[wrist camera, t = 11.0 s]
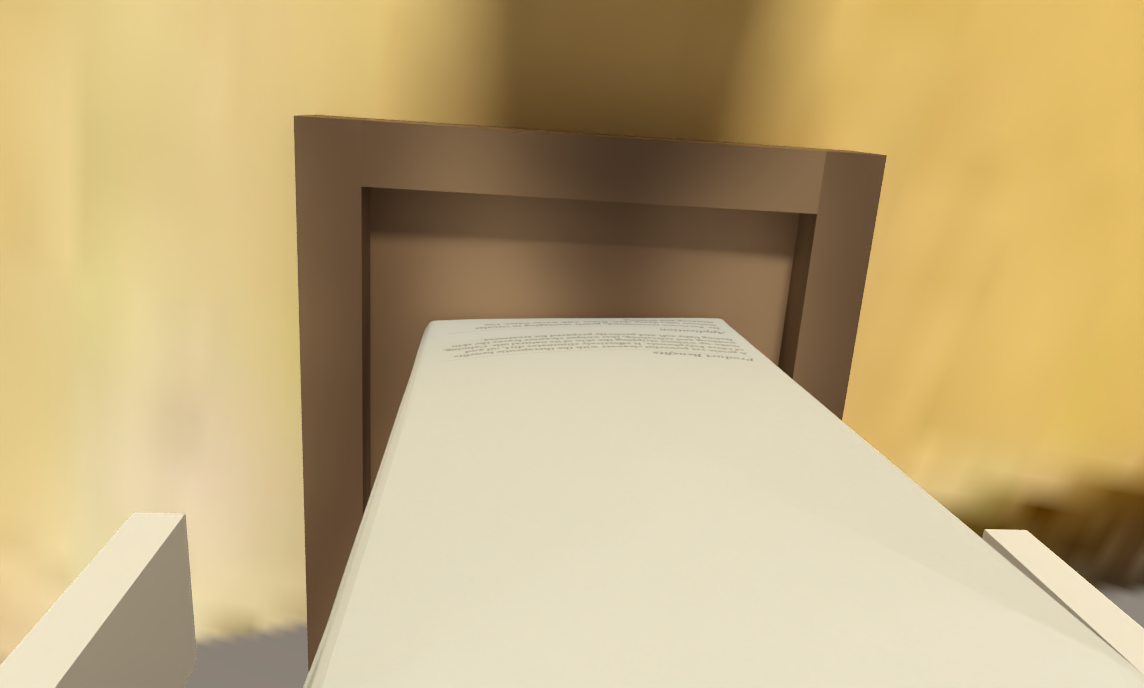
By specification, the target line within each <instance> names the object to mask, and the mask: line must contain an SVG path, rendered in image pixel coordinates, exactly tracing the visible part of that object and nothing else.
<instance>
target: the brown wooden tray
mask: <svg viewBox="0 0 1144 688" xmlns="http://www.w3.org/2000/svg"><path fill="white" fill-rule="evenodd" d="M294 139H295V177H296V214H297V252H298V290H299V328H300V365H301V403H302V441H303V479H304V516H305V554H306V592H307V630H308V667H309V671H310V668H311V666H312V663H313V660H314V658H315V655H316V652H317V650H318V647H319V644H320V642H321V639H322V636H323V634H324V631H325V628H326V626H327V623H328V620H329V617H330V614H331V611H332V608H333V605H334V602H335V599H336V595H337V592H338V589H339V586H340V583H341V580H342V577H343V574H344V571H345V568H346V565H347V562H348V559H349V556H350V553H351V550H352V547H353V544H354V541H355V538H356V535H357V533H358V530H359V527H360V524H361V521H362V518H363V515H364V512H365V509H366V506H367V503H368V500H369V497H370V494H371V491H372V488H373V485H374V482H375V479H376V477H377V474H378V471H379V468H380V465H381V462H382V459H383V456H384V453H385V450H386V447H387V444H388V441H389V437H390V434H391V431H392V428H393V425H394V422H395V419H396V416H397V413H398V410H399V407H400V404H401V401H402V398H403V396H404V393H405V390H406V387H407V384H408V381H409V378H410V375H411V372H412V369H413V366H414V362H415V359H416V356H417V352H418V349H419V346H420V343H421V340H422V337H423V334H424V331H425V329H426V327H427V326H428V325H429V323H430V322H432V321H438V320H463V319H525V318H719V319H723V320H724V321H725V322H726V323H727V324H728V325H729V326H730V327H731V328H733V329H734V330H735V331H736V332H737V333H738V334H740V335H741V336H742V337H743V338H745V339H746V340H747V341H748V342H749V343H750V344H751V345H753V346H754V347H755V348H756V349H757V350H759V351H760V352H761V353H762V354H764V355H765V356H766V357H767V358H768V359H769V360H771V361H772V362H773V363H774V364H775V365H776V366H777V367H779V368H780V369H781V370H782V371H783V372H784V373H785V374H787V375H788V376H789V377H790V378H791V379H793V380H794V381H795V382H796V383H797V384H799V385H800V386H801V387H802V388H803V389H805V390H806V391H807V392H808V393H809V394H811V395H812V396H813V397H814V398H815V399H817V400H818V401H819V402H820V403H821V404H823V405H824V406H825V407H826V408H827V409H828V410H830V411H831V412H832V413H833V414H834V415H835V416H837V417H838V418H839V419H840V420H841V421H842V417H843V411H844V405H845V399H846V393H847V387H848V381H849V375H850V369H851V363H852V357H853V351H854V345H855V340H856V334H857V328H858V322H859V316H860V310H861V304H862V298H863V292H864V286H865V280H866V274H867V269H868V263H869V257H870V251H871V245H872V239H873V233H874V227H875V221H876V215H877V209H878V203H879V197H880V192H881V186H882V180H883V174H884V168H885V162H886V156H887V155H879V154H871V153H863V152H855V151H845V150H830V149H815V148H800V147H785V146H770V145H756V144H741V143H726V142H711V141H696V140H681V139H666V138H651V137H637V136H622V135H607V134H592V133H577V132H562V131H547V130H533V129H518V128H503V127H488V126H473V125H458V124H443V123H428V122H414V121H399V120H384V119H369V118H354V117H339V116H324V115H301V116H294Z"/></svg>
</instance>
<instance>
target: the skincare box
mask: <svg viewBox="0 0 1144 688" xmlns="http://www.w3.org/2000/svg"><path fill="white" fill-rule="evenodd" d="M303 688H1144V674H1142V673H1141V672H1140V671H1139V670H1138V669H1136V668H1135V667H1134V666H1133V665H1132V664H1130V663H1129V662H1128V661H1127V660H1126V659H1124V658H1123V657H1122V656H1121V655H1120V654H1118V653H1117V652H1116V651H1115V650H1114V649H1113V648H1111V647H1110V646H1109V645H1108V644H1107V643H1105V642H1104V641H1103V640H1102V639H1101V638H1099V637H1098V636H1097V635H1096V634H1095V633H1093V632H1092V631H1091V630H1090V629H1089V628H1087V627H1086V626H1085V625H1084V624H1083V623H1082V622H1080V621H1079V620H1078V619H1077V618H1076V617H1074V616H1073V615H1072V614H1071V613H1070V612H1069V611H1067V610H1066V609H1065V608H1064V607H1063V606H1061V605H1060V604H1059V603H1058V602H1057V601H1056V600H1054V599H1053V598H1052V597H1051V596H1050V595H1048V594H1047V593H1046V592H1045V591H1044V590H1043V589H1041V588H1040V587H1039V586H1038V585H1037V584H1035V583H1034V582H1033V581H1032V580H1031V579H1029V578H1028V577H1027V576H1026V575H1025V574H1023V573H1022V572H1021V571H1020V570H1019V569H1017V568H1016V567H1015V566H1014V565H1013V564H1011V563H1010V562H1009V561H1008V560H1007V559H1006V558H1004V557H1003V556H1002V555H1001V554H1000V553H998V552H997V551H996V550H995V549H994V548H992V547H991V546H990V545H989V544H988V543H987V542H985V541H984V540H983V539H982V538H981V537H979V536H978V535H977V534H976V533H975V532H973V531H972V530H971V529H970V528H969V527H967V526H966V525H965V524H964V523H963V522H961V521H960V520H959V519H958V518H957V517H955V516H954V515H953V514H952V513H951V512H949V511H948V510H947V509H946V508H945V507H943V506H942V505H941V504H940V503H939V502H937V501H936V500H935V499H934V498H933V497H931V496H930V495H929V494H928V493H927V492H925V491H924V490H923V489H922V488H921V487H919V486H918V485H917V484H916V483H915V482H914V481H912V480H911V479H910V478H909V477H908V476H907V475H906V474H904V473H903V472H902V471H901V470H900V469H899V468H897V467H896V466H895V465H894V464H893V463H892V462H890V461H889V460H888V459H887V458H886V457H884V456H883V455H882V454H881V453H880V452H878V451H877V450H876V449H875V448H873V447H872V446H871V445H870V444H869V443H867V442H866V441H865V440H864V439H863V438H861V437H860V436H859V435H858V434H857V433H856V432H854V431H853V430H852V429H851V428H850V427H848V426H847V425H846V424H845V423H844V422H843V421H841V420H840V419H839V418H838V417H837V416H835V415H834V414H833V413H832V412H831V411H830V410H828V409H827V408H826V407H825V406H824V405H823V404H821V403H820V402H819V401H818V400H817V399H815V398H814V397H813V396H812V395H811V394H809V393H808V392H807V391H806V390H805V389H803V388H802V387H801V386H800V385H799V384H797V383H796V382H795V381H794V380H793V379H791V378H790V377H789V376H788V375H787V374H785V373H784V372H783V371H782V370H781V369H780V368H779V367H777V366H776V365H775V364H774V363H773V362H772V361H771V360H769V359H768V358H767V357H766V356H765V355H764V354H762V353H761V352H760V351H759V350H757V349H756V348H755V347H754V346H753V345H751V344H750V343H749V342H748V341H747V340H746V339H745V338H743V337H742V336H741V335H740V334H738V333H737V332H736V331H735V330H734V329H733V328H731V327H730V326H729V325H728V324H727V323H726V322H725V321H724V320H723V319H719V318H525V319H463V320H438V321H432V322H430V323H429V325H428V326H427V327H426V329H425V331H424V334H423V337H422V340H421V343H420V346H419V349H418V352H417V356H416V359H415V362H414V366H413V369H412V372H411V375H410V378H409V381H408V384H407V387H406V390H405V393H404V396H403V398H402V401H401V404H400V407H399V410H398V413H397V416H396V419H395V422H394V425H393V428H392V431H391V434H390V437H389V441H388V444H387V447H386V450H385V453H384V456H383V459H382V462H381V465H380V468H379V471H378V474H377V477H376V479H375V482H374V485H373V488H372V491H371V494H370V497H369V500H368V503H367V506H366V509H365V512H364V515H363V518H362V521H361V524H360V527H359V530H358V533H357V535H356V538H355V541H354V544H353V547H352V550H351V553H350V556H349V559H348V562H347V565H346V568H345V571H344V574H343V577H342V580H341V583H340V586H339V589H338V592H337V595H336V599H335V602H334V605H333V608H332V611H331V614H330V617H329V620H328V623H327V626H326V628H325V631H324V634H323V636H322V639H321V642H320V644H319V647H318V650H317V652H316V655H315V658H314V660H313V663H312V666H311V668H310V671H309V674H308V676H307V679H306V681H305V684H304V687H303Z"/></svg>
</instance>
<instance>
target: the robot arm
mask: <svg viewBox="0 0 1144 688" xmlns="http://www.w3.org/2000/svg"><path fill="white" fill-rule="evenodd" d="M982 539H983V540H984V541H985V542H987V543H988V544H989V545H990V546H991V547H992V548H994V549H995V550H996V551H997V552H998V553H1000V554H1001V555H1002V556H1003V557H1004V558H1006V559H1007V560H1008V561H1009V562H1010V563H1011V564H1013V565H1014V566H1015V567H1016V568H1017V569H1019V570H1020V571H1021V572H1022V573H1023V574H1025V575H1026V576H1027V577H1028V578H1029V579H1031V580H1032V581H1033V582H1034V583H1035V584H1037V585H1038V586H1039V587H1040V588H1041V589H1043V590H1044V591H1045V592H1046V593H1047V594H1048V595H1050V596H1051V597H1052V598H1053V599H1054V600H1056V601H1057V602H1058V603H1059V604H1060V605H1061V606H1063V607H1064V608H1065V609H1066V610H1067V611H1069V612H1070V613H1071V614H1072V615H1073V616H1074V617H1076V618H1077V619H1078V620H1079V621H1080V622H1082V623H1083V624H1084V625H1085V626H1086V627H1087V628H1089V629H1090V630H1091V631H1092V632H1093V633H1095V634H1096V635H1097V636H1098V637H1099V638H1101V639H1102V640H1103V641H1104V642H1105V643H1107V644H1108V645H1109V646H1110V647H1111V648H1113V649H1114V650H1115V651H1116V652H1117V653H1118V654H1120V655H1121V656H1122V657H1123V658H1124V659H1126V660H1127V661H1128V662H1129V663H1130V664H1132V665H1133V666H1134V667H1135V668H1136V669H1138V670H1139V671H1140V672H1141V673H1142V674H1144V629H1143V628H1142V627H1141V626H1140V625H1139V624H1137V623H1136V622H1135V621H1134V620H1133V619H1131V618H1130V617H1129V616H1128V615H1127V614H1126V613H1124V612H1123V611H1122V610H1121V609H1120V608H1118V607H1117V606H1116V605H1115V604H1114V603H1112V602H1111V601H1110V600H1109V599H1108V598H1107V597H1105V596H1104V595H1103V594H1102V593H1101V592H1099V591H1098V590H1097V589H1096V588H1095V587H1093V586H1092V585H1091V584H1090V583H1089V582H1088V581H1086V580H1085V579H1084V578H1083V577H1082V576H1080V575H1079V574H1078V573H1077V572H1076V571H1074V570H1073V569H1072V568H1071V567H1070V566H1069V565H1067V564H1066V563H1065V562H1064V561H1063V560H1061V559H1060V558H1059V557H1058V556H1057V555H1055V554H1054V553H1053V552H1052V551H1051V550H1050V549H1048V548H1047V547H1046V546H1045V545H1044V544H1042V543H1041V542H1040V541H1039V540H1038V539H1036V538H1035V537H1034V536H1033V535H1032V534H1030V533H1029V532H1028V531H1027V530H993V529H984V533H983V537H982ZM196 664H197V653H196V640H195V628H194V615H193V603H192V590H191V578H190V566H189V553H188V541H187V528H186V516H185V513H135V512H134V513H133V514H132V515H131V516H130V517H129V518H128V520H127V521H126V522H125V523H124V524H123V525H122V526H121V528H120V529H119V530H118V531H117V532H116V533H115V534H114V536H113V537H112V538H111V539H110V540H109V541H108V542H107V544H106V545H105V546H104V547H103V548H102V549H101V550H100V552H99V553H98V554H97V555H96V556H95V557H94V558H93V560H92V561H91V562H90V563H89V564H88V565H87V566H86V568H85V569H84V570H83V571H82V572H81V573H80V574H79V576H78V577H77V578H76V579H75V580H74V581H73V582H72V584H71V585H70V586H69V587H68V588H67V589H66V590H65V592H64V593H63V594H62V595H61V596H60V597H59V598H58V600H57V601H56V602H55V603H54V604H53V605H52V607H51V608H50V609H49V610H48V611H47V612H46V613H45V615H44V616H43V617H42V618H41V619H40V620H39V621H38V623H37V624H36V625H35V626H34V627H33V628H32V629H31V631H30V632H29V633H28V634H27V635H26V636H25V637H24V639H23V640H22V641H21V642H20V643H19V644H18V645H17V647H16V648H15V649H14V650H13V651H12V652H11V653H10V655H9V656H8V657H7V658H6V659H5V660H4V661H3V663H2V664H1V665H0V688H184V686H185V685H186V682H187V681H188V679H189V677H190V675H191V673H192V671H193V669H194V668H195V666H196Z"/></svg>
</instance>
